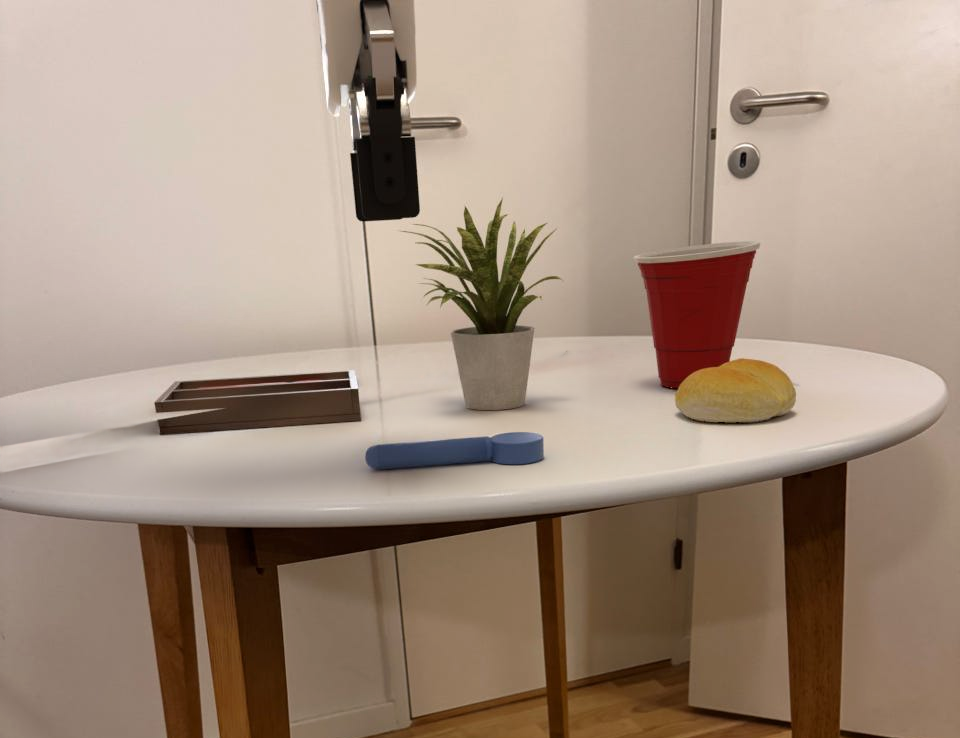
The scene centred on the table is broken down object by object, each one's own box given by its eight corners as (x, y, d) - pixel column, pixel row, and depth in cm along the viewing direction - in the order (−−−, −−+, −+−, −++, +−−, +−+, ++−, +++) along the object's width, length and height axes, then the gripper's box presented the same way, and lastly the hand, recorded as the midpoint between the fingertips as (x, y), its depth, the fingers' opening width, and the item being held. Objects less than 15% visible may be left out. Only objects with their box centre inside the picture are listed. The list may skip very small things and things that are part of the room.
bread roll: (655, 416, 73) (656, 364, 72) (727, 400, 78) (730, 351, 77) (741, 430, 67) (745, 373, 66) (813, 412, 72) (819, 358, 71)
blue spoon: (367, 476, 60) (364, 451, 59) (365, 463, 63) (362, 440, 62) (548, 462, 61) (548, 438, 61) (537, 450, 64) (537, 427, 64)
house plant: (412, 392, 89) (398, 203, 82) (556, 385, 89) (555, 196, 82) (407, 422, 76) (390, 200, 69) (576, 413, 76) (576, 191, 69)
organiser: (159, 435, 75) (153, 402, 74) (179, 410, 85) (174, 381, 84) (361, 420, 77) (358, 388, 76) (357, 398, 87) (354, 369, 86)
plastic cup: (615, 380, 90) (617, 246, 85) (720, 372, 92) (728, 240, 87) (654, 399, 81) (658, 248, 76) (771, 389, 82) (783, 241, 77)
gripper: (290, -81, 57) (323, 224, 64) (279, -197, 42) (325, 221, 49) (411, -82, 58) (431, 218, 65) (445, -197, 43) (467, 214, 50)
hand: (386, 219), depth 57 cm, fingers open, 9 cm apart
